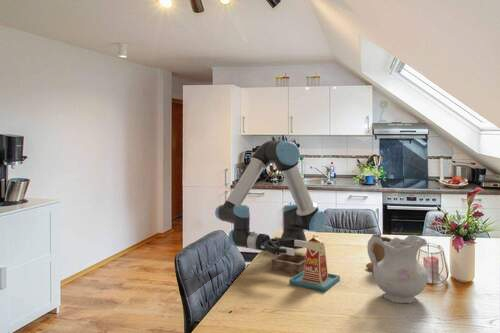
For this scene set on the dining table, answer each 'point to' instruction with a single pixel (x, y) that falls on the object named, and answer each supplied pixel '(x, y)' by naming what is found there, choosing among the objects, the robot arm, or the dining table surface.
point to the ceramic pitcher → (399, 268)
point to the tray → (327, 285)
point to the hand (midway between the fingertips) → (301, 248)
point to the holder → (289, 263)
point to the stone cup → (378, 252)
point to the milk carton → (315, 262)
